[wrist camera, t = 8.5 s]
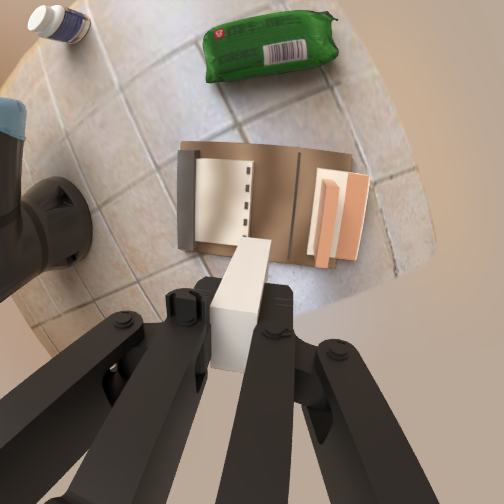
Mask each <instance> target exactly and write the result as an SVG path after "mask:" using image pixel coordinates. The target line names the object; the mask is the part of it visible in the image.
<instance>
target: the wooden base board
mask: <svg viewBox="0 0 504 504" xmlns="http://www.w3.org/2000/svg"><path fill="white" fill-rule="evenodd" d="M351 163H352V155H351V154H345V153H338V152H331V151H323V150H315V149H307V148H298V147H288V146H277V145H264V144H250V143H231V142H198V141H182V142H181V149H180V150H178V165H177V229H178V249H180V250H183V251H191V252H199V253H208V254H216V255H224V256H232V257H233V255H234V253H235V251H236V248H237V246H238V244H239V242H240V240H241V238H242V237H249V238H259V239H268V240H271V249H270V258H269V261H274V262H282V263H291V264H299V265H308V266H315V259H314V255H308V254H307V246H308V238H309V231H310V223H311V215H312V207H313V198H314V190H315V180H316V171H317V168H324V169H332V170H339V171H346V172H351ZM336 263H337V258H333V257H329V262H328V267H327V268H334V269H335V268H336Z"/></svg>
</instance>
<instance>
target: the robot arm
mask: <svg viewBox="0 0 504 504" xmlns="http://www.w3.org/2000/svg"><path fill="white" fill-rule="evenodd" d="M26 114H27V113H26V107H25V105H24V104H23V103H22V102H21V101H19V100H15V99H9V98H2V97H0V303H1V302H2V301H4V300H5V299H6V298H8V297H9V296H10V295H12V294H13V293H14V292H16V291H17V290H18V289H20V288H21V287H22V286H24V285H25V284H27V283H28V282H29V281H31V280H32V279H34V278H35V277H36V276H38V275H39V274H41V273H42V272H46V271H51V270H57V269H63V268H68V267H71V266H73V265H74V264H76V263H77V262H79V261H80V260H82V259H83V258H84V257H85V255H86V254H87V252H88V250H89V248H90V244H91V239H92V223H91V217H90V213H89V210H88V207H87V204H86V202H85V200H84V198H83V196H82V194H81V193H80V191H79V190H78V189H77V188H76V186H75V185H74V184H72V183H71V182H70V181H68V180H67V179H65V178H62V177H51V178H47V179H44V180H41V181H40V182H38V183H36V184H35V185H34V186H33V187H32V188H31V189H29V190H28V191H27V192H26V193H25V194H24V195H22V196H21V173H22V157H23V146H24V141H25V140H26V137H25V124H26ZM270 249H271V240H268V239H259V238H249V237H242V238H241V240H240V242H239V244H238V246H237V248H236V251H235V253H234V255H233V257H232V259H231V261H230V264H229V266H228V268H227V270H226V272H225V274H224V277H223V279H222V278H214V277H207V276H206V277H204V278H202V279H201V280H199V281H198V282H197V284H196V285H195V287H194V289H190V288H181V289H176V290H173V291H171V292H169V293H168V294H167V295H165V297H166V308H167V318H166V320H165V321H164V322H161V323H143V319H142V317H141V315H139V314H138V313H136V312H133V311H120V312H116V313H114V314H112V315H110V316H109V317H107V318H106V319H105V320H103V321H102V322H100V323H99V324H98V325H96V326H95V327H94V328H92V329H91V330H90V331H88V332H87V333H86V334H84V335H83V336H82V337H80V338H79V339H78V340H76V341H75V342H74V343H72V344H71V345H70V346H68V347H67V348H66V349H64V350H63V351H62V352H60V353H59V354H58V355H56V356H55V357H54V358H52V359H51V360H50V361H49V362H47V363H46V364H45V365H43V366H42V367H41V368H39V369H38V370H37V371H36V372H34V373H33V374H32V375H30V376H29V377H28V378H27V379H25V380H24V381H23V382H22V383H20V384H19V385H18V386H17V387H15V388H14V389H13V390H12V391H10V392H9V393H8V394H7V395H5V396H4V397H3V398H2V399H1V400H0V504H36V503H37V502H38V501H39V500H40V499H41V498H42V497H43V496H44V495H45V494H46V493H47V492H48V491H49V490H50V489H51V488H52V487H53V486H54V485H55V484H56V483H57V482H58V481H59V480H60V479H61V478H62V477H63V476H64V475H65V473H66V472H67V471H68V470H69V469H70V468H71V467H72V466H73V465H74V464H75V463H76V462H77V461H78V460H79V459H80V458H81V457H82V456H83V455H84V454H85V452H86V451H87V450H88V449H89V448H90V449H89V450H88V452H87V454H86V456H85V458H84V460H83V461H82V463H81V465H80V467H79V469H78V471H77V473H76V475H75V477H74V478H73V480H72V482H71V484H70V486H69V488H68V490H67V491H66V493H65V494H64V495H63V496H61V497H56V498H51V499H49V500H48V501H47V502H45V503H44V504H166V502H167V498H168V495H169V492H170V489H171V486H172V483H173V480H174V477H175V474H176V471H177V468H178V465H179V462H180V459H181V456H182V453H183V450H184V447H185V444H186V441H187V438H188V435H189V432H190V429H191V426H192V423H193V420H194V417H195V414H196V411H197V408H198V405H199V402H200V399H201V395H202V393H203V390H204V387H205V384H206V381H207V375H208V372H207V367H208V364H209V361H211V368H215V369H221V370H227V371H233V372H240V373H244V377H243V382H242V387H241V391H240V396H239V401H238V405H237V410H236V415H235V419H234V424H233V428H232V433H231V437H230V441H229V446H228V450H227V455H226V459H225V464H224V468H223V473H222V477H221V481H220V486H219V490H218V494H217V498H216V502H215V504H288V494H289V481H290V466H291V450H292V431H293V407H294V402H296V403H299V404H301V405H302V411H303V414H304V417H305V420H306V424H307V427H308V430H309V433H310V437H311V440H312V443H313V447H314V450H315V453H316V457H317V459H318V463H319V467H320V469H321V473H322V476H323V479H324V483H325V486H326V490H327V493H328V496H329V499H330V503H331V504H439V502H438V500H437V498H436V495H435V493H434V491H433V489H432V487H431V485H430V483H429V481H428V480H427V477H426V475H425V473H424V471H423V469H422V467H421V466H420V463H419V462H418V459H417V457H416V456H415V454H414V452H413V450H412V448H411V446H410V444H409V442H408V440H407V438H406V437H405V435H404V433H403V431H402V429H401V427H400V425H399V423H398V421H397V420H396V418H395V416H394V414H393V412H392V410H391V409H390V407H389V405H388V403H387V401H386V400H385V398H384V396H383V394H382V392H381V391H380V389H379V387H378V385H377V384H376V382H375V380H374V379H373V377H372V375H371V373H370V371H369V370H368V368H367V366H366V364H365V363H364V361H363V359H362V357H361V356H360V354H359V352H358V351H357V349H356V348H355V347H354V346H353V345H352V344H350V343H348V342H346V341H343V340H340V339H329V340H324V341H323V342H321V343H320V344H319V345H318V346H314V345H311V344H308V343H306V342H304V341H302V340H301V339H299V338H298V337H297V336H296V335H295V333H294V330H293V291H292V290H291V289H290V287H289V286H288V285H279V284H270V283H267V278H268V268H269V258H270ZM114 364H116V366H115V367H114V368H113V369H111V370H110V368H111V367H112V366H113V365H114Z"/></svg>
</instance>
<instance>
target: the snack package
mask: <svg viewBox="0 0 504 504" xmlns="http://www.w3.org/2000/svg"><path fill="white" fill-rule="evenodd" d="M332 20H336V21H337V20H338V19H335V18H333V16H332V15H331V14H329V12H328V11H325V12H314V11H309V10H294V11H284V12H277V13H272V14H266V15H261V16H256V17H250V18H246V19H241V20H237V21H234V22H229V23H226V24H222V25H219V26H216V27H214V28H212V29H211V30H209V31H208V32H207V33H206V34H205V36H204V38H203V51H204V54H205V58H206V64H207V72H206V83H215V82H235V81H239V80H243V79H247V78H252V77H257V76H263V75H271V74H279V73H285V72H291V71H297V70H303V69H310V68H315V67H318V66H321V65H323V64H325V63H327V62H330V61H332V60H334V59H335V58H336V57H337V56H338V54H339V51H338V48H337V47H336V45H335V43H334V41H333V38H332V28H331V22H332Z"/></svg>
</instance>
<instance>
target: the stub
mask: <svg viewBox="0 0 504 504" xmlns="http://www.w3.org/2000/svg"><path fill="white" fill-rule="evenodd" d="M370 177H371V176H369V175H365V174H359V173H352V172H346V171H339V170H332V169H324V168H317V171H316V180H315V190H314V198H313V207H312V215H311V223H310V231H309V238H308V246H307V254H308V255H314V259H315V267H319V268H327V267H328V262H329V257H333V258H339V259H347V260H357V255H358V250H359V245H360V239H361V234H362V229H363V223H364V217H365V211H366V205H367V198H368V192H369V185H370Z"/></svg>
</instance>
